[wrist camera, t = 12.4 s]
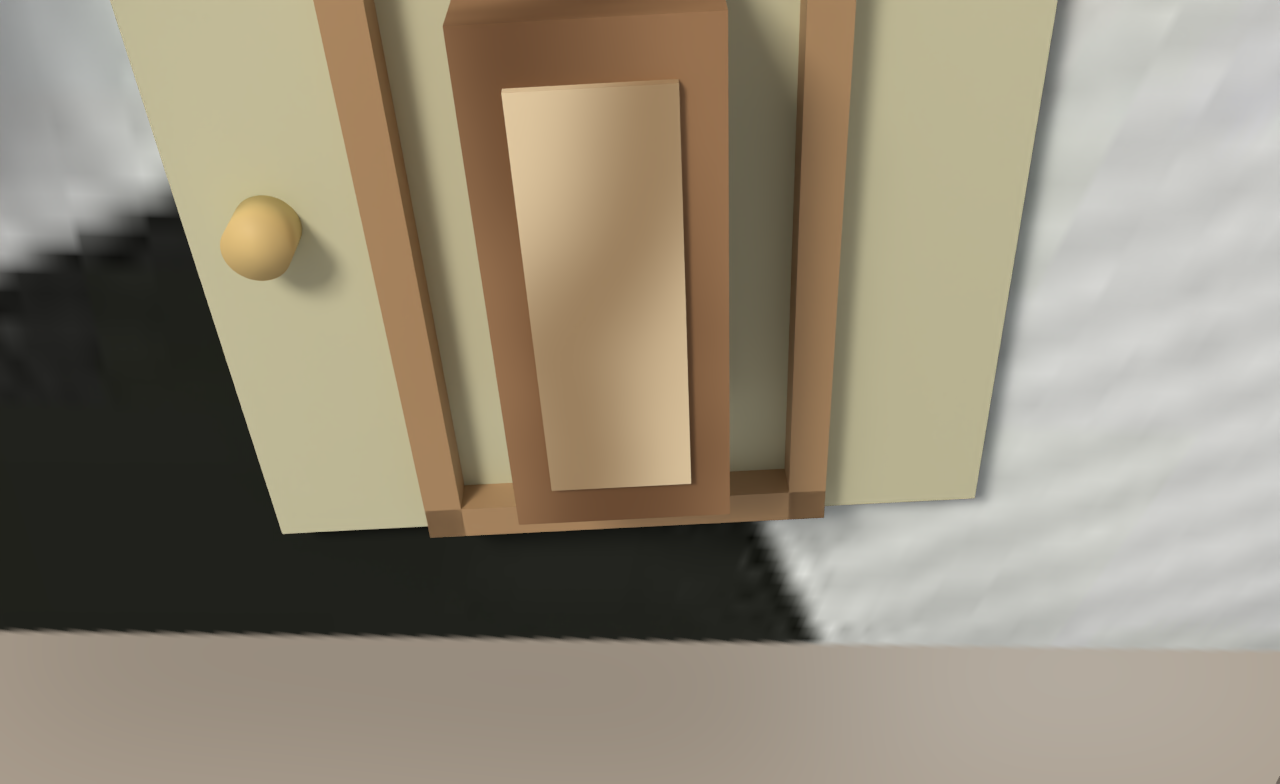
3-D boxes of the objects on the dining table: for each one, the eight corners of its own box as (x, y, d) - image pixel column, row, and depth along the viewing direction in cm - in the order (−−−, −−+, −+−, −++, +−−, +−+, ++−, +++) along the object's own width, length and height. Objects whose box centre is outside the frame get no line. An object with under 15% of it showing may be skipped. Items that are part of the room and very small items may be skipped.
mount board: (1091, -313, 22) (1131, -297, 21) (966, 475, 34) (985, 527, 33) (52, -251, 23) (5, -231, 21) (289, 510, 35) (272, 563, 33)
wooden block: (710, -66, 24) (728, 14, 20) (716, 398, 31) (730, 520, 27) (466, -51, 24) (441, 30, 20) (528, 408, 31) (518, 530, 28)
